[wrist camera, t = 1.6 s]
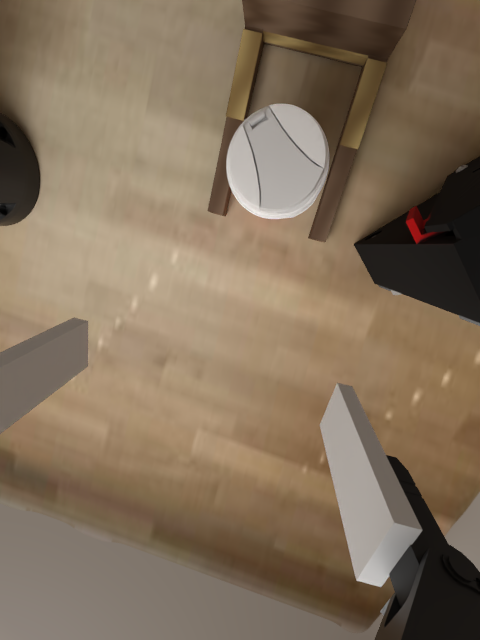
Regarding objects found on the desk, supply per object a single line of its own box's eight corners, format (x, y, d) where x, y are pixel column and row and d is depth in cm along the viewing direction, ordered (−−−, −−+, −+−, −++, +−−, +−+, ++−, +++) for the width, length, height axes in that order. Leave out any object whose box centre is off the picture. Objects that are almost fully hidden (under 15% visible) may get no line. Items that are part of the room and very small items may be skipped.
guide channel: (210, 212, 36) (199, 206, 30) (253, 5, 29) (248, -53, 24) (323, 242, 35) (333, 241, 29) (391, 37, 29) (421, -14, 23)
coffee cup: (231, 182, 34) (203, 138, 20) (289, 145, 33) (303, 67, 18) (262, 241, 36) (255, 238, 22) (318, 208, 34) (352, 182, 20)
